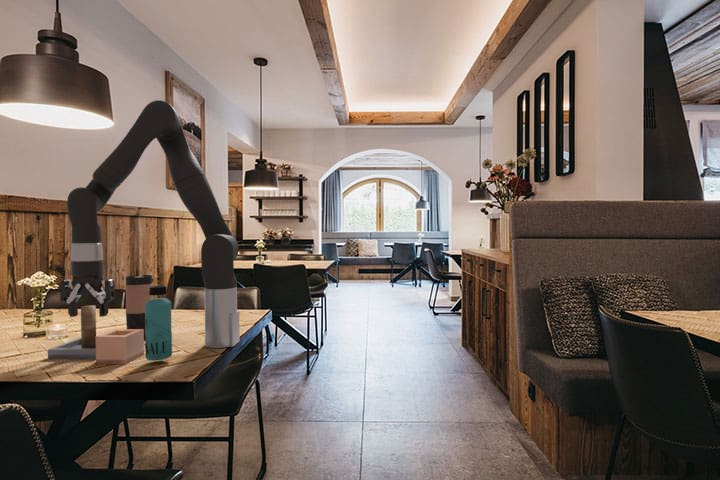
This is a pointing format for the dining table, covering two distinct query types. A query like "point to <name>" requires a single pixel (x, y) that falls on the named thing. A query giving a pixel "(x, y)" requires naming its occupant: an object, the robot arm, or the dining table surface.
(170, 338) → the beverage bottle
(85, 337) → the walnut dowel
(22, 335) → the dining table surface
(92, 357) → the slate tray
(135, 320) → the travel mug
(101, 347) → the pin cup
